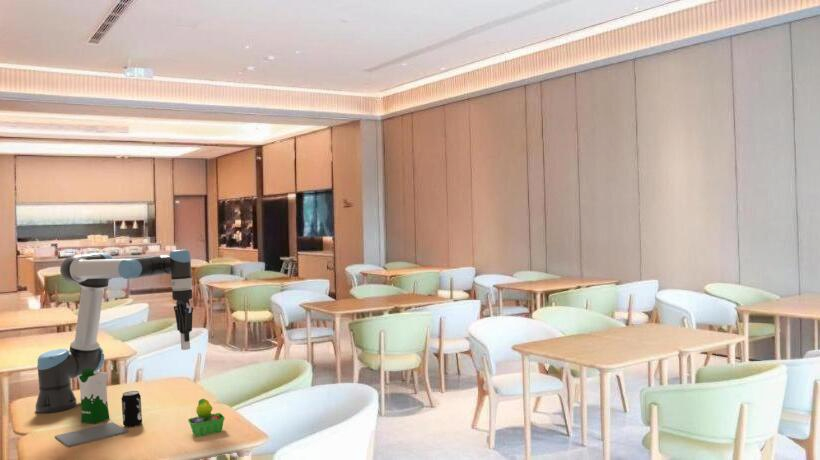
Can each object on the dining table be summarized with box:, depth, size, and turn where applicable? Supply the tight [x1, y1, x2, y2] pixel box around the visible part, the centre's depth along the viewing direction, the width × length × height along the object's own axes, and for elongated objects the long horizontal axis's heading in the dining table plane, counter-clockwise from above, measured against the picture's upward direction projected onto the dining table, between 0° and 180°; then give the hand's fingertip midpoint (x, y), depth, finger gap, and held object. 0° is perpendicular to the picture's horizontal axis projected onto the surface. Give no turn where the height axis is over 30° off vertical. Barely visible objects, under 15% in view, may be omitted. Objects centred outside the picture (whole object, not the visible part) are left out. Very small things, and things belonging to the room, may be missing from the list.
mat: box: [54, 421, 129, 448], centre depth 244 cm, size 16×20×1 cm
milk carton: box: [76, 369, 111, 425], centre depth 262 cm, size 9×9×20 cm
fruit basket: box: [187, 398, 226, 437], centre depth 240 cm, size 11×9×11 cm
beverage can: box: [121, 390, 143, 428], centre depth 253 cm, size 7×7×12 cm
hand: (185, 349), depth 268 cm, fingers closed
